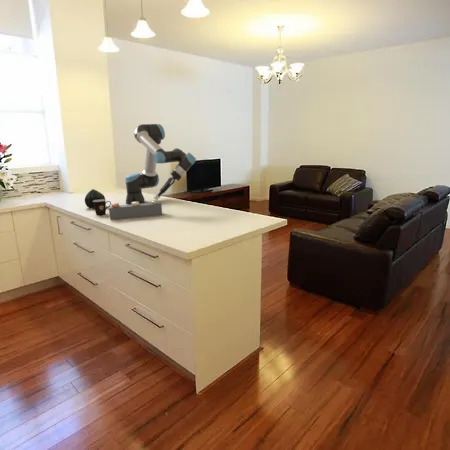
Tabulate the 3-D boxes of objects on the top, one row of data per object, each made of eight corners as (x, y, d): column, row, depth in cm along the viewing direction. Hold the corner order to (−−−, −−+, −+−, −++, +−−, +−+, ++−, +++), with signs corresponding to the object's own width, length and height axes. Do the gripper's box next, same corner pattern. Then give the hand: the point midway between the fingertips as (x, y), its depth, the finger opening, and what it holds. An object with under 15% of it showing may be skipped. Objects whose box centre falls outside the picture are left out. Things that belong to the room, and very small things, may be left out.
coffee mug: (93, 216, 237) (91, 202, 235) (95, 213, 245) (93, 199, 243) (110, 214, 239) (109, 200, 237) (112, 212, 248) (110, 198, 245)
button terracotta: (119, 209, 230) (119, 202, 229) (119, 211, 225) (118, 204, 224) (112, 210, 229) (111, 203, 228) (112, 211, 224) (111, 204, 223)
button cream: (139, 207, 233) (138, 201, 231) (139, 209, 228) (138, 202, 227) (132, 208, 232) (131, 201, 230) (132, 210, 227) (131, 203, 226)
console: (161, 213, 238) (160, 201, 236) (162, 215, 232) (161, 203, 230) (111, 217, 231) (109, 206, 229) (110, 220, 224) (108, 208, 222)
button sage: (158, 206, 236) (158, 199, 234) (159, 207, 231) (158, 201, 230) (151, 207, 235) (151, 200, 233) (152, 208, 230) (151, 201, 229)
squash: (96, 203, 253) (101, 186, 260) (78, 204, 257) (83, 187, 263) (106, 212, 266) (110, 195, 272) (89, 213, 269) (93, 196, 276)
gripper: (183, 177, 226) (160, 204, 226) (181, 175, 238) (159, 201, 239) (174, 170, 223) (151, 197, 224) (172, 168, 235) (150, 194, 236)
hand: (155, 199), depth 231 cm, fingers closed
